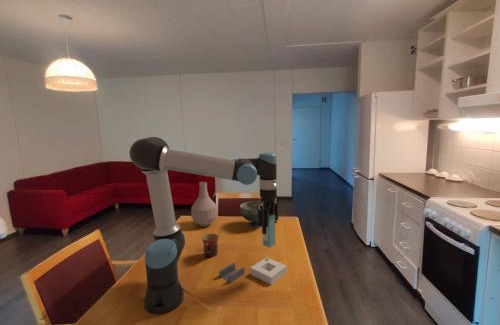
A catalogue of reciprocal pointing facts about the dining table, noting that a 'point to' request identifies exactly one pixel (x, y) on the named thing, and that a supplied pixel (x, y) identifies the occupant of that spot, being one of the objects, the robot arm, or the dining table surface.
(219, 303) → the dining table surface
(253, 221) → the bowl
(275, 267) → the port
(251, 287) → the dining table surface
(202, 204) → the vase
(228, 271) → the grey u-shaped block
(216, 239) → the mug
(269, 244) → the plug
